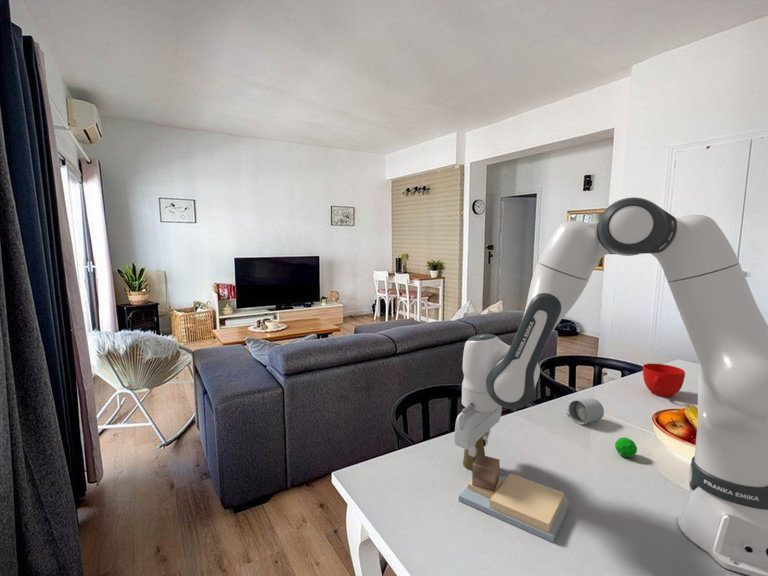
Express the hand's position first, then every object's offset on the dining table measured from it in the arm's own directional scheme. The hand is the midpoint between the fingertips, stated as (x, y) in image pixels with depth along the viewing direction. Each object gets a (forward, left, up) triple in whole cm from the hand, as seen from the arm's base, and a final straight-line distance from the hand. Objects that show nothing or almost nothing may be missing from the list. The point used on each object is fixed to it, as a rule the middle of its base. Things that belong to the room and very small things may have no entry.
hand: (478, 449), depth 99 cm
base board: (-12, +8, -5) cm, 15 cm away
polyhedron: (-29, -30, -5) cm, 42 cm away
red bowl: (-34, -87, -5) cm, 93 cm away
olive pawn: (+1, -1, -5) cm, 5 cm away
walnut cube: (-6, +8, -2) cm, 10 cm away
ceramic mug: (-15, -46, -5) cm, 49 cm away
